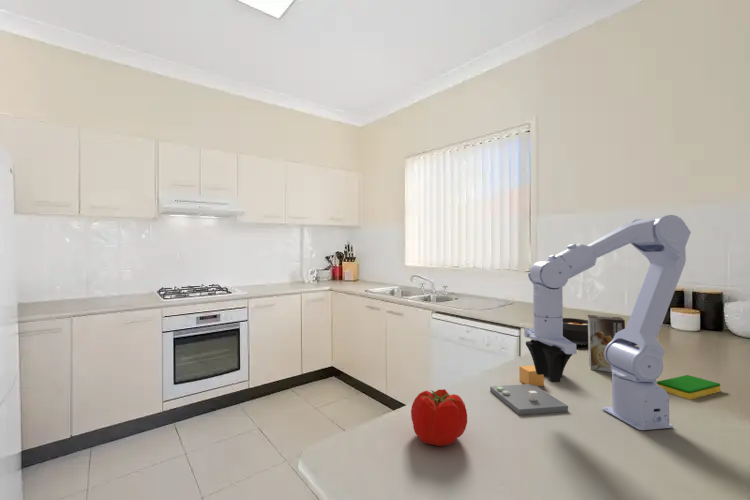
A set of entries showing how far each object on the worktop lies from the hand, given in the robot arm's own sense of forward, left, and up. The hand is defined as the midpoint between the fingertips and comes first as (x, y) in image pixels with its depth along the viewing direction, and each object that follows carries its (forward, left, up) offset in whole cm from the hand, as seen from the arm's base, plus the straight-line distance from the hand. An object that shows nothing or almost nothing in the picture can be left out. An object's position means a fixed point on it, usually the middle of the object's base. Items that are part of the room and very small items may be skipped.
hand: (548, 377), depth 73 cm
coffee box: (+25, -38, -9) cm, 46 cm away
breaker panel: (+8, 0, -8) cm, 12 cm away
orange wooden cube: (+18, -8, -8) cm, 21 cm away
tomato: (-5, +27, -9) cm, 29 cm away
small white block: (+6, 0, -7) cm, 9 cm away
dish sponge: (+8, -46, -9) cm, 48 cm away
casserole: (+56, -52, -9) cm, 77 cm away
